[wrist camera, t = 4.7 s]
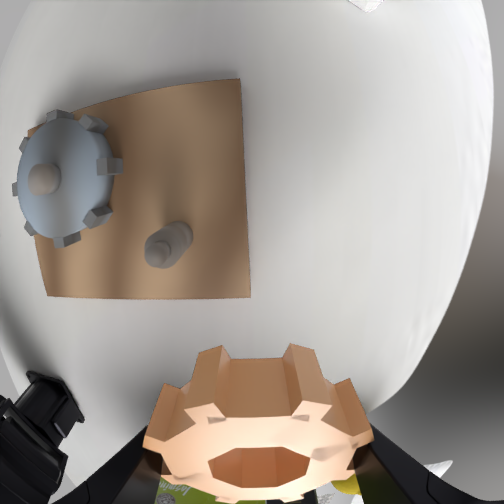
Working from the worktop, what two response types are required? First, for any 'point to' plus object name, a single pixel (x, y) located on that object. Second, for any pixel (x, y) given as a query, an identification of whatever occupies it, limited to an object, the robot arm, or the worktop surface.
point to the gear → (257, 427)
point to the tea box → (213, 496)
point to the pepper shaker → (366, 4)
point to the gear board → (141, 196)
